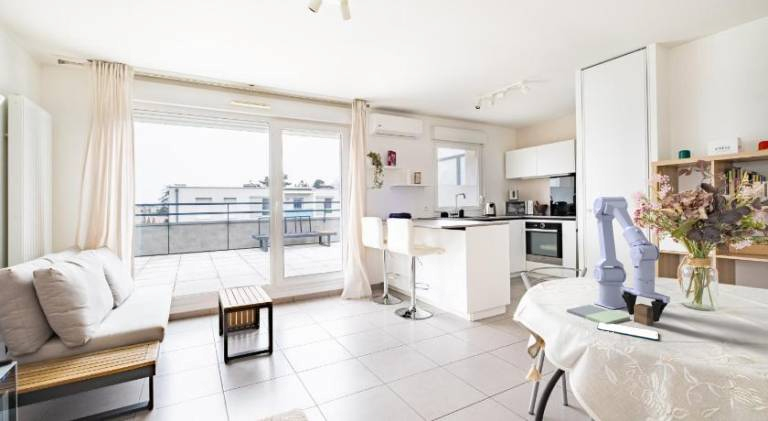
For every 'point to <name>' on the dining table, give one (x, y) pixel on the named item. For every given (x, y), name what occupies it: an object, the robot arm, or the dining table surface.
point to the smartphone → (629, 331)
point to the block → (643, 314)
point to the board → (598, 314)
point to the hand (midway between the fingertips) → (643, 317)
